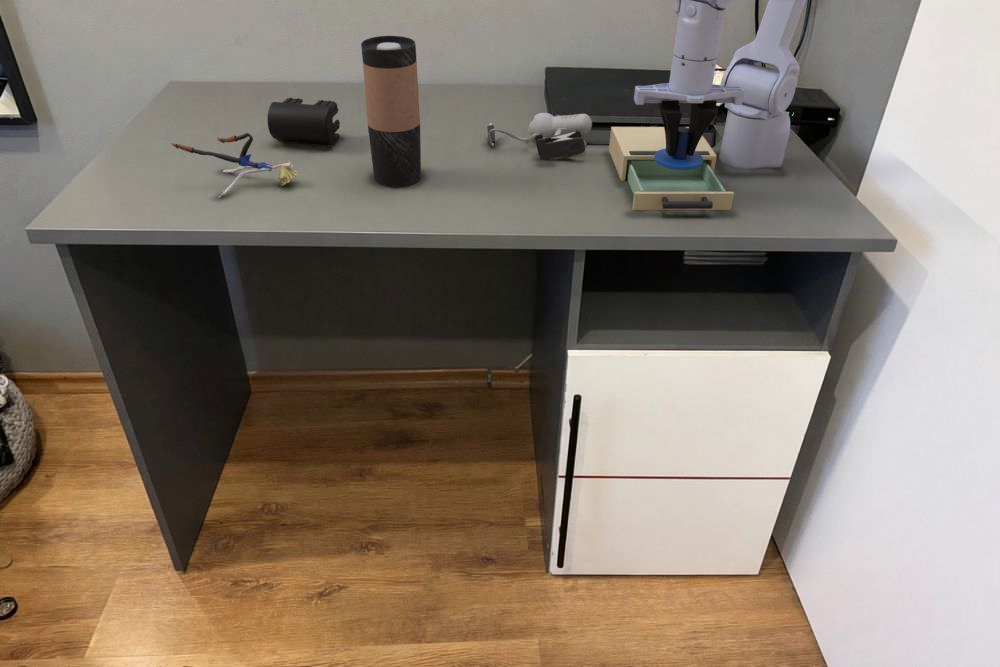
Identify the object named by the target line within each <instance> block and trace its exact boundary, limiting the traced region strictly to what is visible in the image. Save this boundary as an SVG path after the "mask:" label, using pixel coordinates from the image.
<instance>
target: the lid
mask: <svg viewBox="0 0 1000 667" xmlns="http://www.w3.org/2000/svg"><path fill="white" fill-rule="evenodd" d="M686 127H687V126H679V128H678V132H677V138H676V147H675V153H674V156H669V155H668V154H667V152H666V148H665V149H661V150H659V151H657V152H656V153H655V157H654V160H655V162H656V163H658V164H659V165H661V166H663V167H666V168H669V169H674V170H693V169H696V168H699V167H700V166H701V165H702V163H703V157H702V156H701V155H700V154H698V153H697V152H694V155H693V156H688V154H687V153H688V147H689V141H690V135H691V129H689V128H686Z"/></svg>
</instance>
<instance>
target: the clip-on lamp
mask: <svg viewBox="0 0 1000 667" xmlns="http://www.w3.org/2000/svg"><path fill="white" fill-rule="evenodd" d="M486 127H487V141H488V145H489V146H490V147H494V145H495V144H496V133H495V132H499V133H502V134H504V135H507V136H509V137H511V138H513V139H516V140H517V141H520V142H526V143H527V142H530V141H531V140H533V139H534V140H535V146H536V149H537V150H536V151H537V154H538V155H537V156H539V159H540V161H549V160H550V159H555V158H561V157H568V156H574V155H580V154H584V153H585V152H586V147H587V141H585V140H584V138H582V136H585V135H588V134H589V133H590V132H591V130H592V127H593V122H592V118H591V117H590V116H589V115H588V114H586V113H577V114H568V115H556V116H555V115H553V114H551V113H548V112H539V113H537V114H535V115H534V117H533V119H532V121H531V122H530V123H529V125H528V133H529V136H528V137H526V138H523V137H520V136H517V135H516V134H513V133H511V132H509V131H506V130H504V129H500V128H495V126H494V123H493V122H490V123H489V125H487V126H486Z"/></svg>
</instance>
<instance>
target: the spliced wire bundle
mask: <svg viewBox="0 0 1000 667" xmlns="http://www.w3.org/2000/svg"><path fill="white" fill-rule="evenodd" d="M247 138H248V140H246V142H245V143H244V145H243V146H242V149H241V151H240V153H239V157H235V156H232V155H227V154H224V153H218V152H213V151H205V150H201V149H196V148H194V147H193V146H187V145H183V144H180V143H172V142H171V143H170V145H171V146H172V147H174V148H176V149H177V150H178V149H179V150H182V151H185V152H187V153H190V154H197V155H201V156H212V157H215V158H217V159H220V160H223V161H226V162H230V163H235V164H238V165H239V166H238V167H236V168H233V169H228V168H227V169H226V168H225V169H224V170H222V171H223V173H227V174H229V173H237V172H239V174H238V175H237V176H236V178H235V179H234V180H233V181H232V183H231V184H230V185H229V186H228V187H226V188H225V190H223V192H222V193H221V194H220V195H219V196H218V198H219V199H220V198H221V197H222V196H226V195H227V194H228V193H229V192H230V191H231V190H232V189H233V188H234V187H235V186H236V184H237V183H238V181H239V180H241V178H243V176H245V175H247V174H253V173H261V172H271V171H272V170H273V169H277V168H279V167H280V169H279V175H278V176H277V179H278V180H279V185H280V186H281V187H283V186H285V185H286V184H289V183H290V181H292V180H293V179H294V177H295V178H296V177H297V176H298V173H299V171H297V170H296V169H293V166H294V164H293V162H292V160H288V161H286V162H283V163H280V164H279V163H278V164H276V165H273V164H269V163H266V162H264V161H263V162H254V161H251V160H250V159H251V157H252V154H247V153H248V151H249V150H250V147H251V145H252V143H253V141H254V138H253V136H252V135H251V134H250V133H248V132H246V133H243V134H240V135H232V136H229V137H220V138H219V137H218V136H217V137H216V139H217V140H218V142H220V143H222V144H224V143H234V142H238V141H242V140H245V139H247ZM245 169H247V170H245ZM242 170H243V171H242Z"/></svg>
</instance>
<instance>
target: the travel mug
mask: <svg viewBox="0 0 1000 667" xmlns="http://www.w3.org/2000/svg"><path fill="white" fill-rule="evenodd" d="M360 47H361V56H362V70H363V84H364V95H365V97H364V98H365V107H366V117H367V118H366V121H367V130H368V138H369V148H370V156H371V162H372V171H373V177H374V181H375V182H376V183H377V184H379V185H381V186H384V187H389V188H404V187H408V186H412V185H414V184H416V183H418V182H419V181H420V180H421V175H422V166H421V165H422V158H421V157H422V153H421V150H422V149H421V147H422V146H421V114H420V112H421V111H420V99H419V98H420V97H419V96H420V95H419V80H418V62H417V46H416V41H415V40H414V39H413V38H410V37H406V36H402V35H401V36H400V35H379V36H378V35H377V36H373V37H368V38H366V39H364V40H363V41H362V42H361V43H360Z"/></svg>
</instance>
